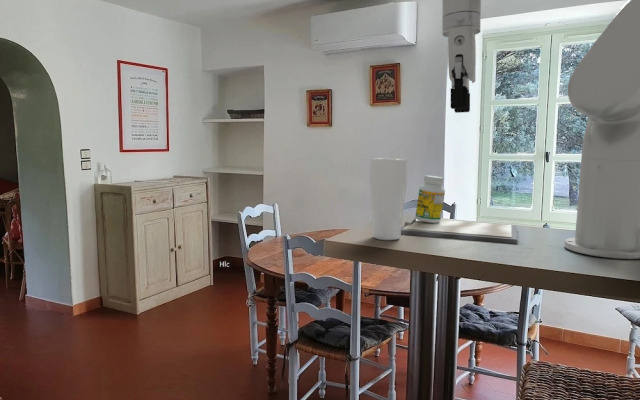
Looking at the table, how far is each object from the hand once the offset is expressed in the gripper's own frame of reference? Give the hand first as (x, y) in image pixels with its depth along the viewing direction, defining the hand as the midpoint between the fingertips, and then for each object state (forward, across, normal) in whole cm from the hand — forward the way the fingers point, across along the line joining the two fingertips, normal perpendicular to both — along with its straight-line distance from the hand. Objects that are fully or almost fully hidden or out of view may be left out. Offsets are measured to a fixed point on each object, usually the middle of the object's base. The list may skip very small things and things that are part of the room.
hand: (460, 110), depth 100 cm
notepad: (+25, -4, 0) cm, 25 cm away
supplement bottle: (+23, -1, +7) cm, 24 cm away
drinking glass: (+25, -17, +12) cm, 32 cm away
